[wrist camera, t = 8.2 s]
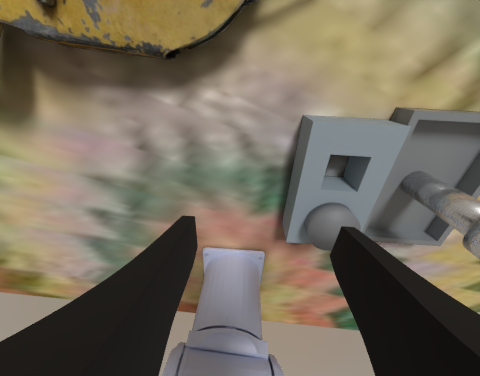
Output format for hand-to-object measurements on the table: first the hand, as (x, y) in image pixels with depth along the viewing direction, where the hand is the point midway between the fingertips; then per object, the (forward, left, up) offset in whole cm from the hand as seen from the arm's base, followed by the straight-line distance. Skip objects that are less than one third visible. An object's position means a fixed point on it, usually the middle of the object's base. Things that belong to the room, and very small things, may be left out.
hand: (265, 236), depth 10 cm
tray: (-1, -16, -10) cm, 19 cm away
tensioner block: (-2, -7, -10) cm, 13 cm away
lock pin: (-1, -15, -10) cm, 18 cm away
